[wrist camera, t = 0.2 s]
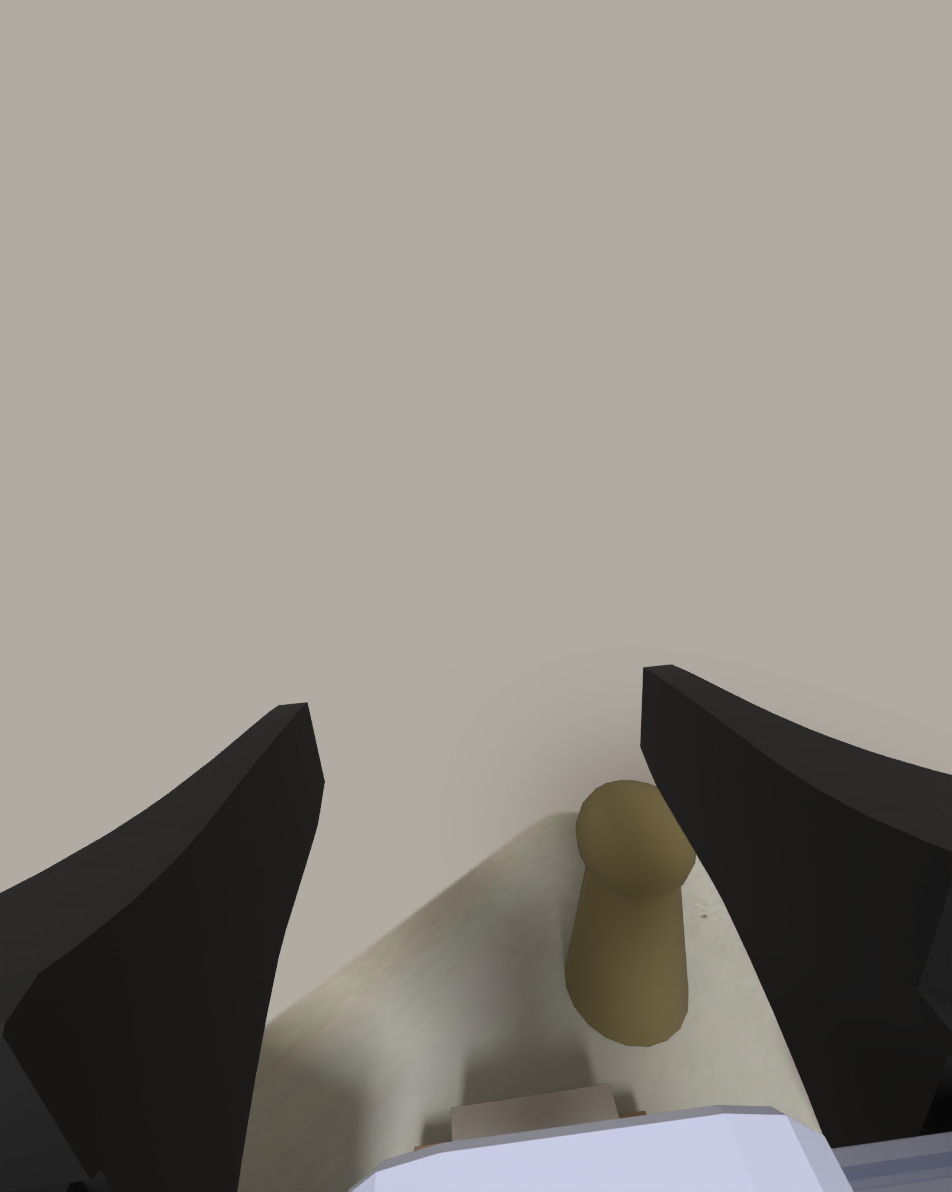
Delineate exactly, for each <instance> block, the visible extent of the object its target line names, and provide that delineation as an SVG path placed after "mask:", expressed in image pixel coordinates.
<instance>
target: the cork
mask: <svg viewBox="0 0 952 1192" xmlns="http://www.w3.org/2000/svg"><path fill="white" fill-rule="evenodd" d="M576 836H577V843H578V848H579V852H580V855H581V858H582V860H583V861H584V863H585V865H586V868H585V873H584V878H583V883H582V887H581V892H580V897H579V902H578V907H577V912H576V917H575V922H574V927H573V932H572V937H571V942H570V946H569V951H568V956H567V961H566V966H565V975H566V987H567V990H568V992H569V995H570V997H571V1000H572V1002H573V1005H574V1007H575V1008H576V1009H577V1011H578V1012H579V1013H580V1014H581V1016H582V1017H583V1018H584V1020H585V1021H586V1022H587V1024H589V1025H590V1026H591V1027H593V1028H594V1029H595V1030H597V1031H598V1032H599V1033H601V1034H602V1035H603V1036H605V1037H606V1038H608V1039H611V1040H614V1041H616V1042H619V1043H621V1044H624V1045H627V1046H645V1047H649V1046H652V1045H655V1044H658V1043H661V1042H664V1041H667V1040H668V1039H669V1038H670V1037H671V1036H672V1035H673V1034H674V1033H676V1032H677V1031H678V1030H679V1029H680V1028H681V1025H682V1023H683V1021H684V1019H685V1016H686V1014H687V1012H688V981H687V967H686V952H685V938H684V924H683V910H682V896H681V886H682V885H683V884H684V882H685V881H686V879H687V877H688V875H689V873H690V872H691V870H692V868H693V866H694V864H695V859H696V853H695V851H694V849H693V848H692V846H691V844H690V843H689V841H688V839H687V838H686V836H685V834H684V833H683V831H682V829H681V828H680V826H679V824H678V822H677V821H676V819H675V817H674V816H673V814H672V812H671V810H670V809H669V807H668V805H667V804H666V802H665V800H664V798H663V797H662V795H661V793H660V791H659V790H658V788H657V787H656V786H654V785H651V784H648V783H644V782H638V781H633V780H632V781H631V780H629V781H628V780H619V781H614V782H610V783H606V784H604V785H602V786H600V787H598V788H596V789H595V790H594V791H593V792H592V793H591V794H590V795H589V797H588V798H587V799H586V800H585V801H584V802H583V804H582V807H581V809H580V813H579V816H578V819H577V822H576Z"/></svg>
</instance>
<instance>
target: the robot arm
mask: <svg viewBox="0 0 952 1192" xmlns="http://www.w3.org/2000/svg"><path fill="white" fill-rule="evenodd" d="M642 690H643V692H642V717H641V743H640V747H641V750H642V752H643V755H644V757H645V759H646V762H647V765H648V767H649V770H650V772H651V774H652V777H653V779H654V781H655V783H656V786H657V788H658V790H659V791H660V793H661V795H662V797H663V798H664V800H665V802H666V804H667V805H668V807H669V809H670V810H671V812H672V814H673V816H674V817H675V819H676V821H677V822H678V824H679V826H680V828H681V829H682V831H683V833H684V834H685V836H686V838H687V839H688V841H689V843H690V844H691V846H692V848H693V849H694V851H695V853H696V854H697V856H698V858H699V860H700V861H701V863H702V865H703V866H704V868H705V870H706V871H707V873H708V875H709V876H710V878H711V880H712V882H713V883H714V885H715V887H716V889H717V891H718V893H719V895H720V896H721V898H722V900H723V902H724V904H725V906H726V908H727V910H728V913H729V915H730V917H731V919H732V921H733V923H734V925H735V928H736V930H737V932H738V934H739V936H740V938H741V940H742V943H743V945H744V947H745V949H746V951H747V953H748V956H749V958H750V960H751V962H752V965H753V967H754V969H755V971H756V974H757V976H758V978H759V980H760V983H761V985H762V987H763V990H764V992H765V994H766V996H767V999H768V1001H769V1003H770V1005H771V1008H772V1010H773V1012H774V1015H775V1017H776V1019H777V1022H778V1024H779V1027H780V1029H781V1032H782V1034H783V1036H784V1039H785V1041H786V1044H787V1046H788V1048H789V1051H790V1053H791V1056H792V1058H793V1060H794V1063H795V1065H796V1068H797V1070H798V1073H799V1075H800V1077H801V1080H802V1082H803V1085H804V1087H805V1090H806V1092H807V1095H808V1097H809V1100H810V1103H811V1105H812V1108H813V1110H814V1113H815V1115H816V1118H817V1121H818V1123H819V1126H820V1128H821V1131H822V1133H823V1135H822V1134H820V1133H818V1132H817V1131H815V1130H813V1129H811V1128H809V1127H808V1126H806V1125H804V1124H802V1123H800V1122H798V1121H797V1120H795V1119H793V1118H791V1117H789V1116H787V1115H785V1114H784V1113H782V1112H780V1111H778V1110H776V1109H774V1108H772V1107H766V1106H728V1105H715V1106H708V1107H701V1108H693V1109H686V1110H679V1111H671V1112H664V1113H657V1114H650V1115H642V1116H635V1117H628V1118H621V1119H613V1120H606V1121H599V1122H591V1123H584V1124H577V1125H570V1126H562V1127H555V1128H548V1129H541V1130H533V1131H526V1132H519V1133H511V1134H504V1135H497V1136H490V1137H482V1138H475V1139H468V1140H461V1141H453V1142H446V1143H440V1144H437V1145H433V1146H430V1147H427V1148H423V1149H420V1150H417V1151H413V1152H410V1153H407V1154H403V1155H400V1156H397V1157H393V1158H390V1159H387V1160H385V1161H383V1162H382V1163H381V1164H380V1165H378V1166H377V1167H376V1168H375V1169H373V1170H372V1171H371V1172H370V1173H369V1174H367V1175H366V1176H365V1177H364V1178H362V1179H361V1180H360V1181H359V1182H357V1183H356V1184H355V1185H354V1186H352V1187H351V1188H350V1189H349V1190H348V1191H347V1192H952V775H950V774H946V773H942V772H938V771H934V770H931V769H927V768H924V767H920V766H917V765H914V764H910V763H906V762H903V761H900V760H896V759H893V758H889V757H886V756H883V755H880V754H877V753H874V752H871V751H868V750H864V749H862V748H859V747H856V746H853V745H850V744H848V743H845V742H842V741H840V740H837V739H834V738H831V737H828V736H826V735H823V734H821V733H818V732H815V731H813V730H810V729H808V728H805V727H803V726H801V725H799V724H796V723H794V722H792V721H789V720H787V719H785V718H782V717H780V716H778V715H775V714H773V713H771V712H769V711H767V710H765V709H763V708H760V707H758V706H756V705H754V704H752V703H750V702H748V701H746V700H744V699H742V698H740V697H738V696H735V695H734V694H732V693H729V692H728V691H726V690H724V689H722V688H720V687H718V686H716V685H714V684H712V683H710V682H708V681H706V680H704V679H702V678H700V677H698V676H696V675H694V674H692V673H690V672H688V671H686V670H683V669H681V668H679V667H676V666H674V665H662V666H653V667H644V668H643V689H642ZM324 783H325V780H324V777H323V771H322V767H321V762H320V758H319V753H318V748H317V744H316V740H315V735H314V730H313V726H312V721H311V716H310V712H309V707H308V703H307V702H306V703H297V704H287V705H278V706H277V707H275V708H274V709H273V710H271V711H270V712H269V713H267V714H266V715H265V716H264V717H262V718H261V719H260V720H259V721H258V722H256V723H255V724H254V725H253V726H252V727H250V728H249V729H248V730H247V731H246V732H245V733H243V734H242V735H241V736H240V737H239V738H238V739H236V740H235V741H234V742H233V743H231V744H230V745H229V746H228V747H227V748H226V749H224V750H223V751H222V752H221V753H220V754H218V755H217V756H216V757H215V758H214V759H212V760H211V761H210V762H209V763H207V764H206V765H205V766H203V767H202V768H201V769H199V770H198V771H197V772H196V773H194V774H193V775H192V776H190V777H189V778H188V779H187V780H185V781H184V782H182V783H181V784H180V785H179V786H177V787H176V788H175V789H174V790H172V791H171V792H170V793H168V794H167V795H165V796H164V797H163V798H161V799H160V800H158V801H157V802H156V803H154V804H153V805H151V806H150V807H148V808H147V809H145V810H144V811H142V812H141V813H140V814H138V815H136V816H135V817H133V818H132V819H130V820H129V821H127V822H126V823H124V824H123V825H121V826H119V827H118V828H116V829H115V830H113V831H112V832H110V833H108V834H107V835H105V836H103V837H102V838H100V839H98V840H96V841H95V842H93V843H91V844H89V845H88V846H86V847H84V848H82V849H81V850H79V851H77V852H76V853H74V854H72V855H70V856H68V857H67V858H65V859H63V860H62V861H60V862H58V863H56V864H55V865H53V866H51V867H49V868H48V869H46V870H44V871H42V872H40V873H38V874H37V875H35V876H33V877H31V878H29V879H27V880H25V881H23V882H21V883H19V884H17V885H15V886H13V887H11V888H9V889H7V890H5V891H3V892H1V893H0V1192H237V1190H238V1183H239V1176H240V1169H241V1162H242V1156H243V1150H244V1144H245V1138H246V1131H247V1125H248V1119H249V1113H250V1107H251V1101H252V1095H253V1089H254V1083H255V1077H256V1072H257V1066H258V1061H259V1055H260V1050H261V1044H262V1039H263V1033H264V1028H265V1023H266V1017H267V1012H268V1006H269V1002H270V997H271V992H272V987H273V983H274V978H275V972H276V968H277V962H278V958H279V954H280V950H281V946H282V943H283V939H284V935H285V931H286V928H287V925H288V921H289V918H290V915H291V912H292V908H293V905H294V902H295V899H296V895H297V892H298V889H299V886H300V882H301V879H302V876H303V873H304V870H305V866H306V863H307V860H308V856H309V853H310V849H311V846H312V843H313V840H314V836H315V833H316V829H317V826H318V820H319V814H320V809H321V802H322V795H323V790H324Z"/></svg>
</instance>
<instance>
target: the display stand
mask: <svg viewBox="0 0 952 1192" xmlns="http://www.w3.org/2000/svg"><path fill="white" fill-rule="evenodd" d="M642 1115H646V1112H645V1111H641V1112H634V1113H628V1114H621V1115H618V1111H617V1108H616V1104H615V1101H614V1097H613V1094H612V1090H611V1087H610V1084H604V1085H597V1086H590V1087H584V1088H577V1089H571V1090H564V1091H557V1092H551V1093H544V1094H538V1095H531V1096H524V1097H518V1098H511V1099H505V1100H498V1101H491V1102H485V1103H478V1104H472V1105H465V1106H458V1107H452V1108H451V1125H452V1141H449V1142H453V1141H461V1140H468V1139H475V1138H482V1137H490V1136H497V1135H504V1134H511V1133H519V1132H526V1131H533V1130H541V1129H548V1128H555V1127H562V1126H570V1125H577V1124H584V1123H591V1122H599V1121H606V1120H613V1119H621V1118H628V1117H635V1116H642ZM443 1143H446V1142H443ZM437 1144H440V1143H436V1144H430V1145H423V1146H417V1147H414V1151H417V1150H420V1149H423V1148H427V1147H430V1146H433V1145H437Z"/></svg>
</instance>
